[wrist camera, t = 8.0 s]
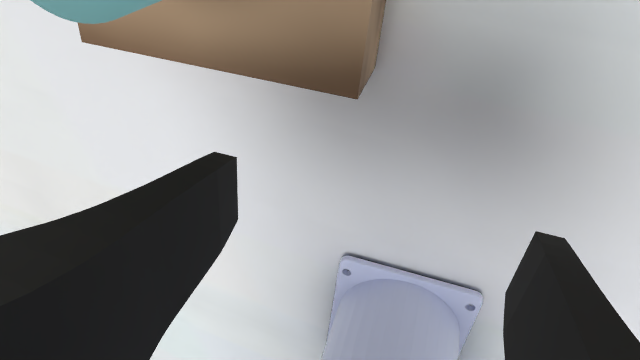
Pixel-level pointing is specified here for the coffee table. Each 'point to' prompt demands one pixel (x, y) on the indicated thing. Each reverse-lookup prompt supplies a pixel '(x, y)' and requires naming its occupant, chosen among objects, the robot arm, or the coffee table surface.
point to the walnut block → (257, 39)
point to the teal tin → (93, 9)
